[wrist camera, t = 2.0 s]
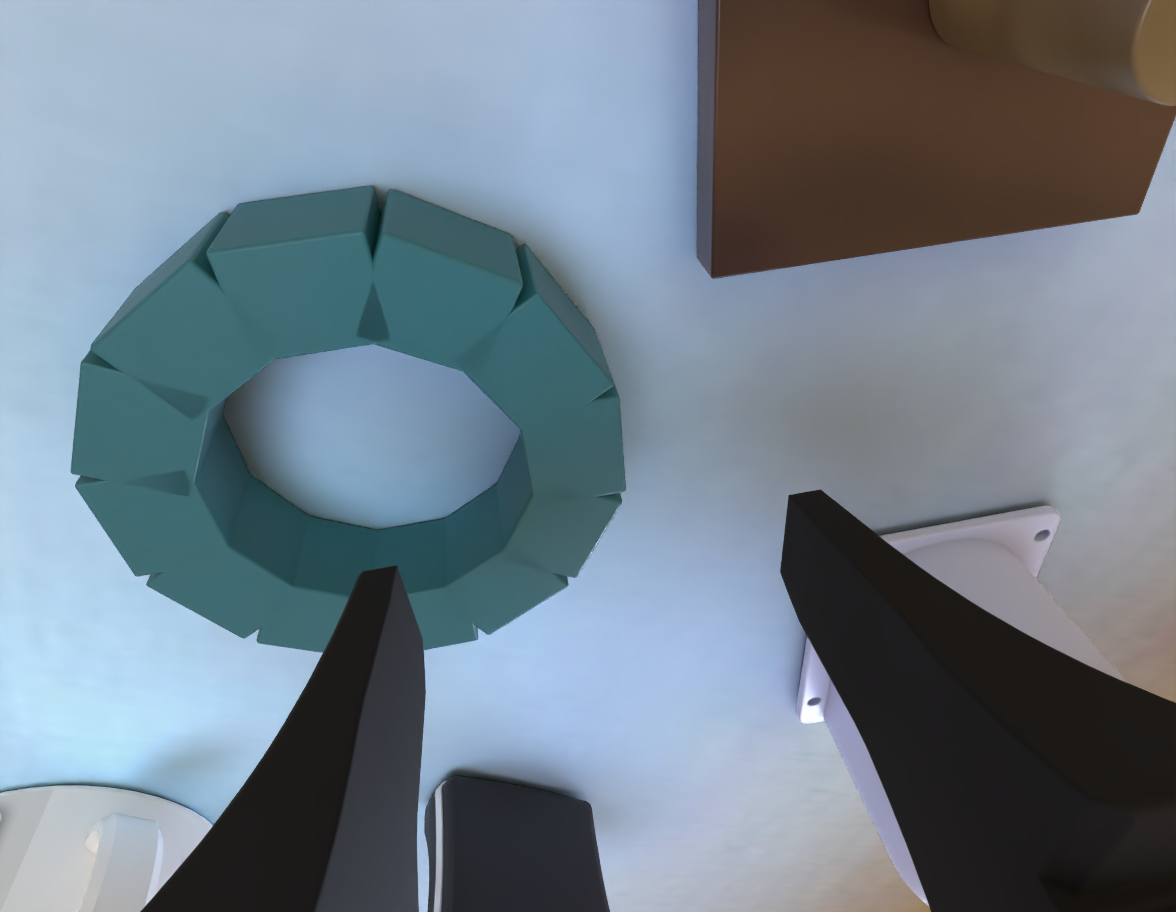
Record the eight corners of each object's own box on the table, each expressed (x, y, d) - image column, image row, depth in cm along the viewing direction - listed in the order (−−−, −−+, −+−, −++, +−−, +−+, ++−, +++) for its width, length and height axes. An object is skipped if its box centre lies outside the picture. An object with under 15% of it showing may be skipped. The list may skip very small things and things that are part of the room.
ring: (616, 545, 22) (635, 611, 20) (233, 613, 21) (211, 690, 19) (582, 155, 15) (605, 195, 13) (11, 233, 14) (-60, 289, 12)
